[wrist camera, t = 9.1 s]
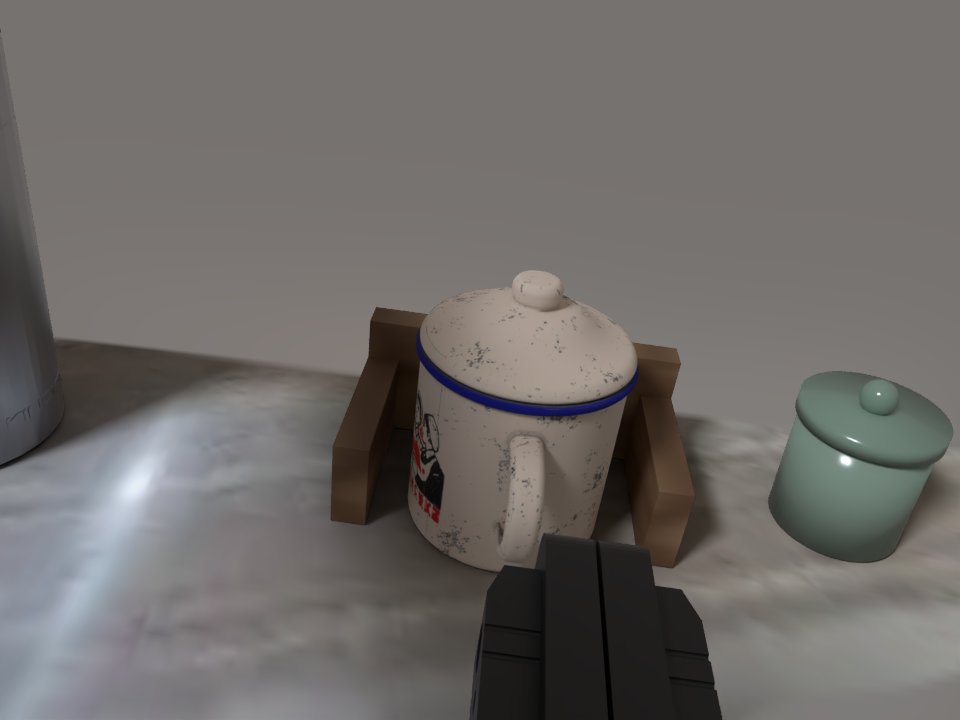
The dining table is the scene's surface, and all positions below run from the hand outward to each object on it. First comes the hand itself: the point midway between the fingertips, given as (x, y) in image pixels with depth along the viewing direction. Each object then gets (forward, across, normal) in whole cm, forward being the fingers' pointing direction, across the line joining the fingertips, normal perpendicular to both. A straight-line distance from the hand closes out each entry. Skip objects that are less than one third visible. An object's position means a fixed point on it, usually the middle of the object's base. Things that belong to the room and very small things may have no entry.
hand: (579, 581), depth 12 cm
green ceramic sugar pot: (+22, -16, +16) cm, 32 cm away
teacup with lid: (+18, 0, +16) cm, 24 cm away
